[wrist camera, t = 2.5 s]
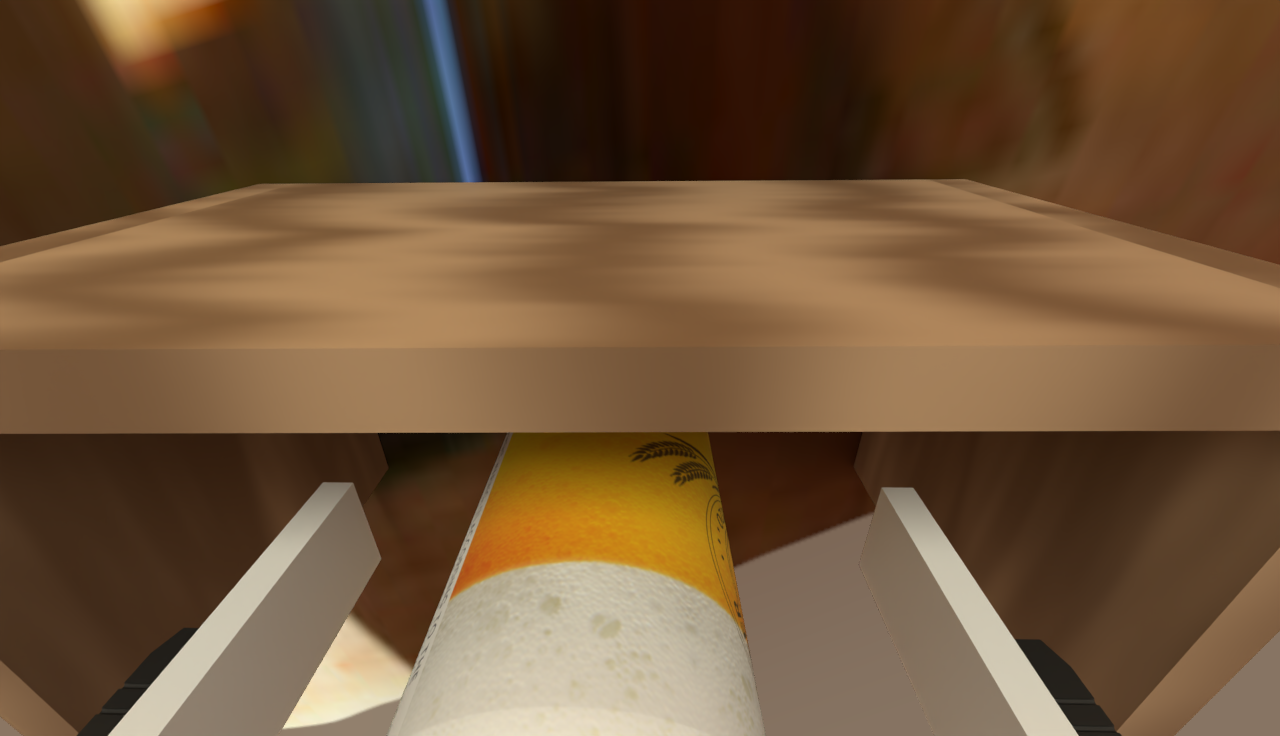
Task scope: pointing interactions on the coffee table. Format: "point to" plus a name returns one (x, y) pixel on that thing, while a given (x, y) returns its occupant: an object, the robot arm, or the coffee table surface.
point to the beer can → (590, 599)
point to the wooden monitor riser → (645, 394)
